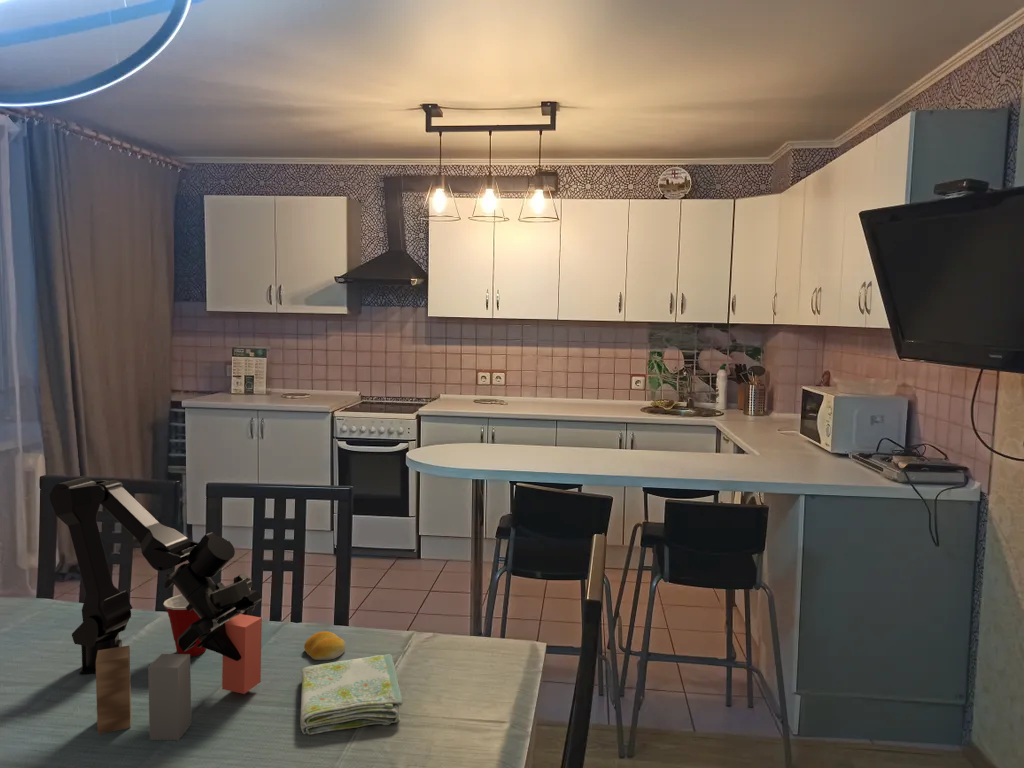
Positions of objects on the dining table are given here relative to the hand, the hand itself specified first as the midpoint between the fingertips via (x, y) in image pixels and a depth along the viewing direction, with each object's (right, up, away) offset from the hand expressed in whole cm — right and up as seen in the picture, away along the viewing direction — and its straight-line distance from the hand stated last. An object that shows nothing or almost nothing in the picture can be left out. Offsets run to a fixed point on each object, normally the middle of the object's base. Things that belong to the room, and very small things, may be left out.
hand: (248, 653), depth 139 cm
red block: (-2, -7, +1) cm, 7 cm away
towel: (+20, -9, -1) cm, 22 cm away
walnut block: (-20, -9, -10) cm, 24 cm away
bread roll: (+10, -7, +19) cm, 23 cm away
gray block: (-9, -9, -12) cm, 18 cm away
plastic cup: (-19, -6, +18) cm, 27 cm away
